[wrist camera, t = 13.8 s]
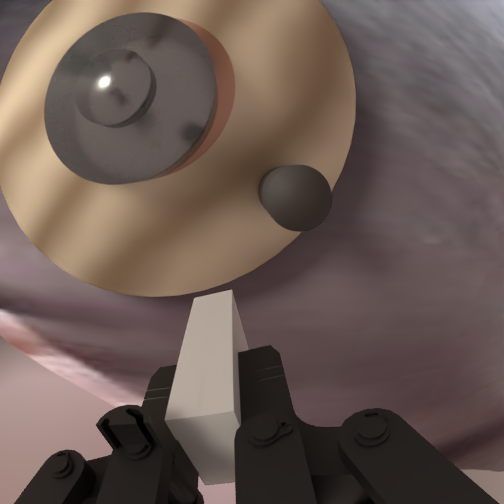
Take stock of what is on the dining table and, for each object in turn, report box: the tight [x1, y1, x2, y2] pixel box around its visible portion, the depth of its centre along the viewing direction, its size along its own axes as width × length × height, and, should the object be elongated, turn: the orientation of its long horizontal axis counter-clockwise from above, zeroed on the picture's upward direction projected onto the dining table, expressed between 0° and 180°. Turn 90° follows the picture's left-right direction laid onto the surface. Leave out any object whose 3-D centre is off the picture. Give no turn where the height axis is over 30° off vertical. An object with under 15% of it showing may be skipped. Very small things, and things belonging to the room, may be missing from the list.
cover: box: [44, 12, 218, 185], centre depth 15 cm, size 10×10×4 cm
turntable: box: [0, 0, 356, 297], centre depth 15 cm, size 26×26×7 cm
